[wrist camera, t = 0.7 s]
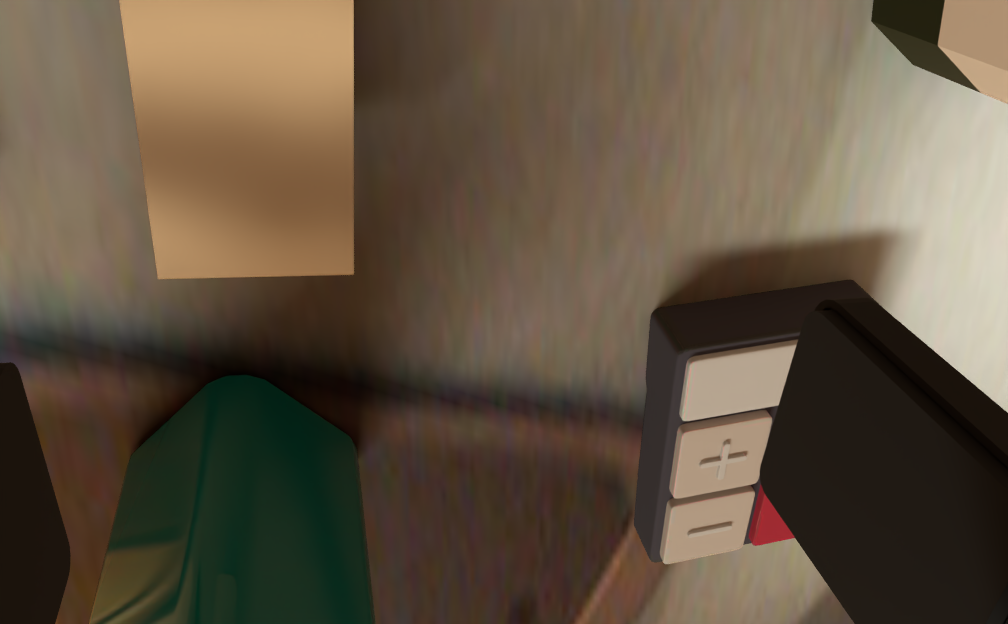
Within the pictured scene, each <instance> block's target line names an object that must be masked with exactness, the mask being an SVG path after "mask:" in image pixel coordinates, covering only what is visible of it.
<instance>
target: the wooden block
mask: <svg viewBox="0 0 1008 624" xmlns="http://www.w3.org/2000/svg"><path fill="white" fill-rule="evenodd" d="M119 2H120V10H121V17H122V24H123V31H124V38H125V46H126V53H127V60H128V67H129V74H130V81H131V89H132V96H133V103H134V110H135V117H136V125H137V132H138V139H139V146H140V153H141V160H142V168H143V175H144V182H145V189H146V196H147V204H148V211H149V218H150V225H151V232H152V239H153V247H154V254H155V261H156V268H157V275H158V279H184V278H228V277H272V276H315V275H354V0H119Z"/></svg>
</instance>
